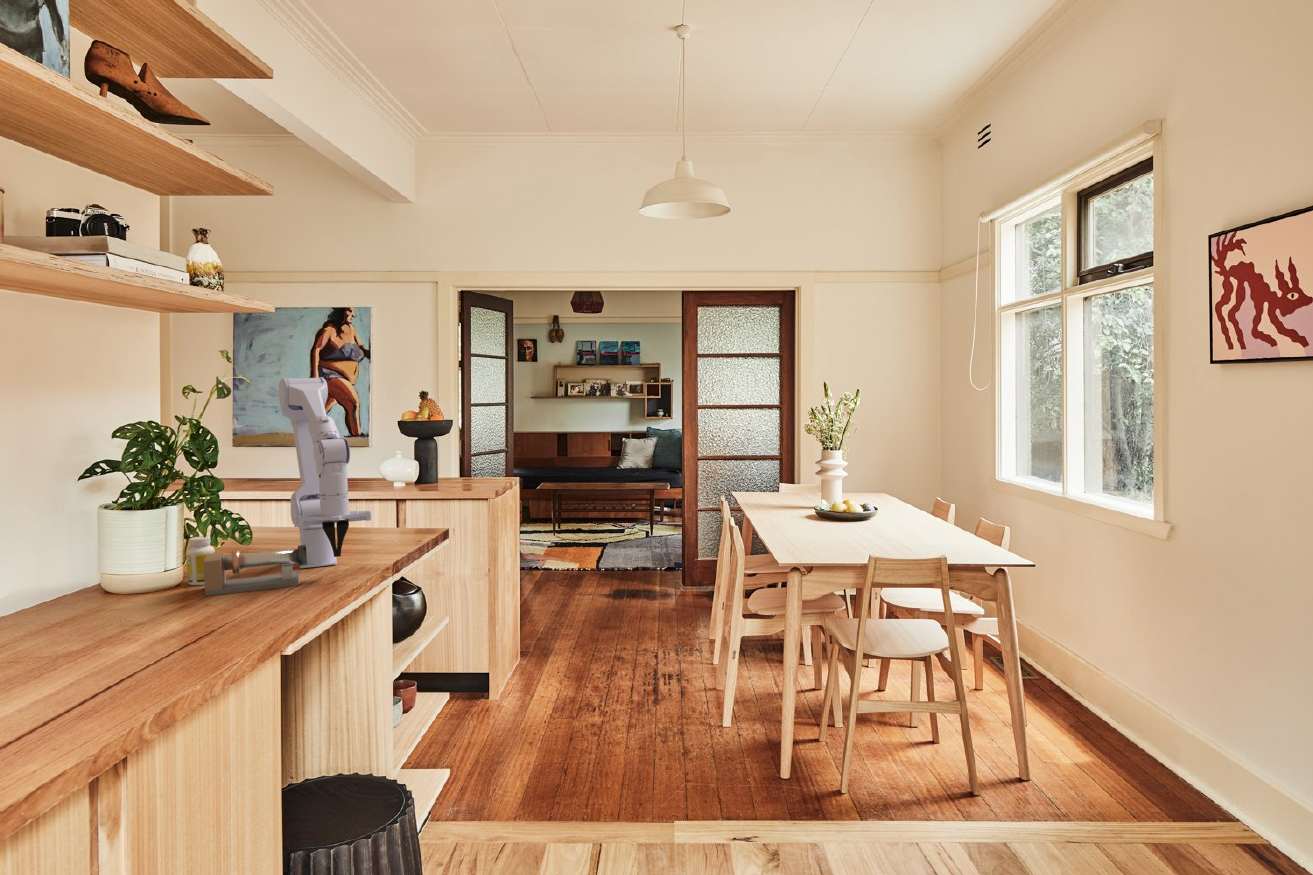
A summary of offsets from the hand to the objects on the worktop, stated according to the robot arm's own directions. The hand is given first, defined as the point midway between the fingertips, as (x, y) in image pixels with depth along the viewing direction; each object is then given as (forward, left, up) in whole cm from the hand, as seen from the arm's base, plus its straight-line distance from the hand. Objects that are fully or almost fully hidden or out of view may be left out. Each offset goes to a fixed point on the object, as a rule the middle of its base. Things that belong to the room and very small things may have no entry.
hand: (337, 555), depth 173 cm
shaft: (0, -14, -2) cm, 14 cm away
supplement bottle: (-9, -27, -5) cm, 29 cm away
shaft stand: (0, -16, -5) cm, 17 cm away
